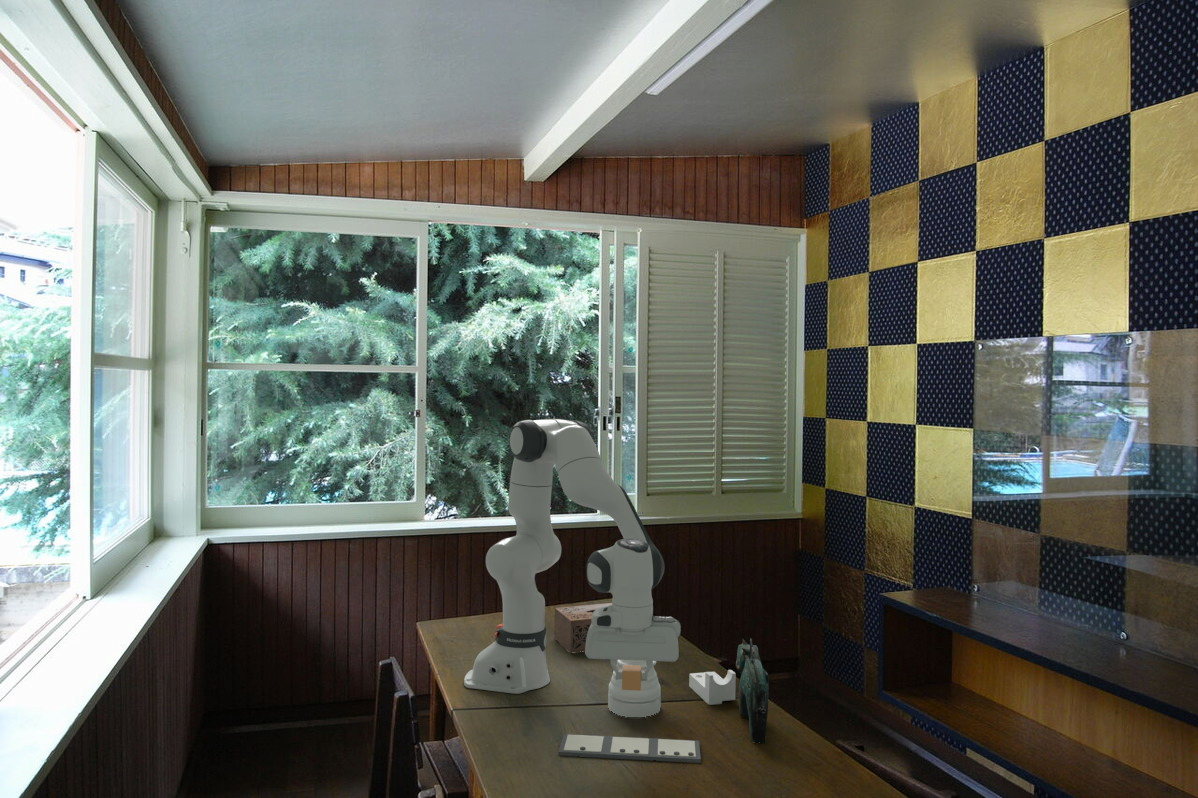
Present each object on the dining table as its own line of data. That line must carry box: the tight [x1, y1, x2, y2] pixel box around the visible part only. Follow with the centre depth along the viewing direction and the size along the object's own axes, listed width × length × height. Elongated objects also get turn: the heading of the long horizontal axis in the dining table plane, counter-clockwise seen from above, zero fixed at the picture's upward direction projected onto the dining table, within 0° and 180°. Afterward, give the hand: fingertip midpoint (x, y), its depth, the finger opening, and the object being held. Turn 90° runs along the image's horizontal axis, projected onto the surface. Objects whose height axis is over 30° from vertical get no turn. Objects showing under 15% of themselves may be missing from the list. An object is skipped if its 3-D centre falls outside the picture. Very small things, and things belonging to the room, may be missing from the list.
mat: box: [558, 733, 702, 764], centre depth 178 cm, size 30×9×1 cm, turn 85°
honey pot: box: [607, 660, 662, 718], centre depth 201 cm, size 13×13×18 cm
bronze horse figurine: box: [735, 637, 770, 744], centre depth 191 cm, size 20×6×20 cm, turn 178°
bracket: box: [688, 669, 737, 706], centre depth 211 cm, size 13×7×8 cm, turn 16°
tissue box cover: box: [553, 602, 612, 654], centre depth 252 cm, size 26×14×10 cm, turn 112°
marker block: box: [622, 665, 641, 691], centre depth 177 cm, size 4×4×4 cm
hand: (631, 679), depth 178 cm, fingers closed on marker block, 4 cm apart
